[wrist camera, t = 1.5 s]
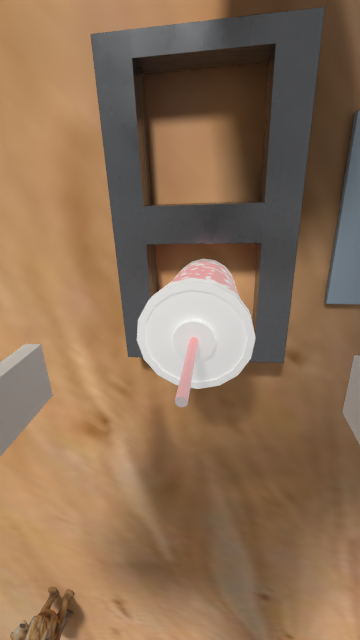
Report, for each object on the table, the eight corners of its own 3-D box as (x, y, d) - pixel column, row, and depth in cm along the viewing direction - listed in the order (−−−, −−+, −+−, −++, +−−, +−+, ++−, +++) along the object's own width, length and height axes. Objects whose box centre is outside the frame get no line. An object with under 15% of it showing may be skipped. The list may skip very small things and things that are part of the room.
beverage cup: (257, 305, 24) (294, 441, 11) (188, 334, 25) (150, 479, 13) (224, 233, 22) (224, 294, 9) (152, 269, 24) (67, 362, 11)
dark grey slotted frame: (107, 53, 19) (90, 33, 16) (311, 31, 17) (324, 7, 15) (136, 342, 26) (128, 356, 24) (278, 347, 25) (283, 362, 22)
